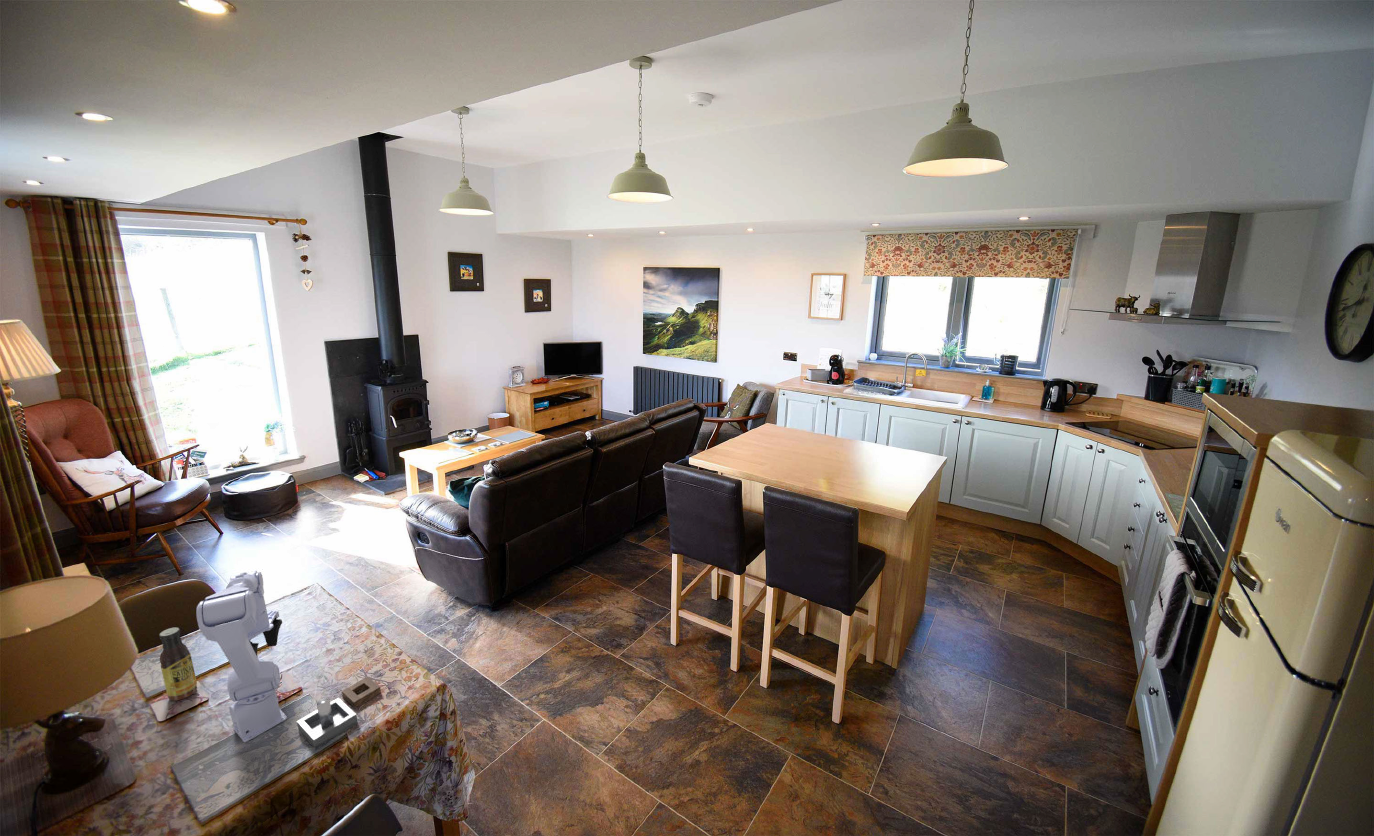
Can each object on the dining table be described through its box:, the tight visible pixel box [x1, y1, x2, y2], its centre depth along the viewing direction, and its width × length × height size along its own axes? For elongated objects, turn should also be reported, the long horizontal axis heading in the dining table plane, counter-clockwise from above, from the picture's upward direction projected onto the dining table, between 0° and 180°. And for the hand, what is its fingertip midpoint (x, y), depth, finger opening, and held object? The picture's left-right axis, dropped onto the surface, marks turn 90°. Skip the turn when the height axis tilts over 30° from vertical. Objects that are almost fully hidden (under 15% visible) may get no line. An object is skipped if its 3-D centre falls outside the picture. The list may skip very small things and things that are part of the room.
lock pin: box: [316, 697, 334, 729], centre depth 141 cm, size 3×3×7 cm
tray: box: [296, 697, 359, 751], centre depth 142 cm, size 10×10×3 cm
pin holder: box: [341, 676, 382, 709], centre depth 152 cm, size 7×7×2 cm
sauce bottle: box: [159, 627, 198, 702], centre depth 150 cm, size 7×6×20 cm
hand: (263, 654), depth 153 cm, fingers open, 7 cm apart
